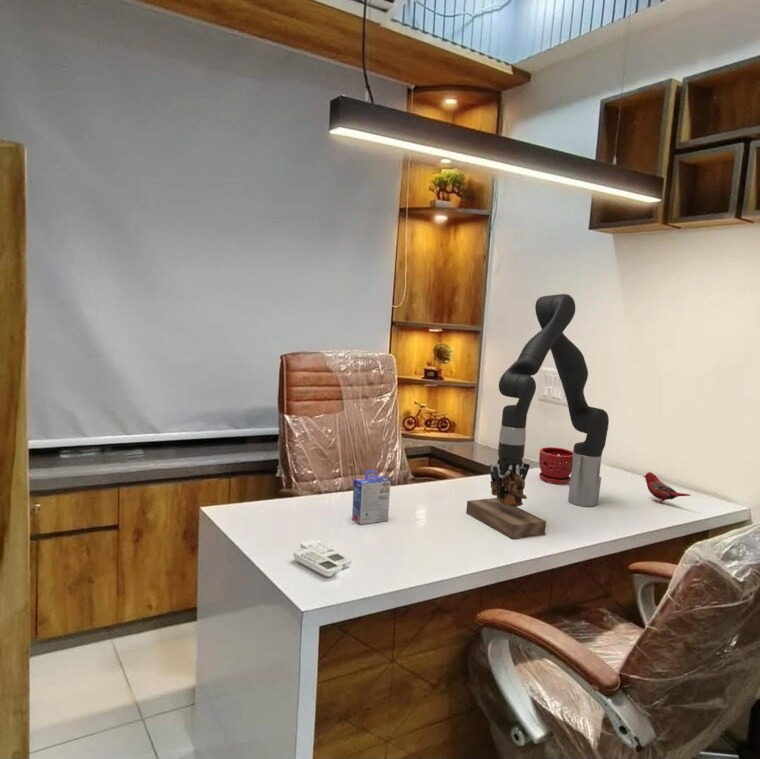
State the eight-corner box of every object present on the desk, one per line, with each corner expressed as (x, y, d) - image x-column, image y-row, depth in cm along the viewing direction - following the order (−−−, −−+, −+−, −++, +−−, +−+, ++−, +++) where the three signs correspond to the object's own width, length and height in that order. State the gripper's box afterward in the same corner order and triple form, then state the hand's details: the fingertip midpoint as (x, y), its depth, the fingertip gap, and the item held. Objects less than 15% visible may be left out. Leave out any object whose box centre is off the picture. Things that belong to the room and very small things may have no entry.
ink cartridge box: (379, 515, 179) (382, 467, 177) (389, 521, 174) (392, 472, 173) (350, 519, 174) (353, 470, 172) (359, 525, 169) (363, 475, 167)
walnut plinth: (497, 509, 192) (498, 497, 191) (544, 534, 172) (546, 521, 172) (466, 513, 186) (467, 500, 186) (511, 539, 167) (513, 525, 166)
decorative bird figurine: (643, 496, 218) (646, 470, 217) (690, 512, 204) (694, 483, 203) (638, 497, 217) (641, 470, 216) (686, 513, 202) (690, 484, 201)
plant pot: (530, 476, 236) (533, 446, 235) (560, 476, 239) (563, 447, 238) (547, 486, 224) (550, 454, 222) (578, 486, 227) (582, 455, 225)
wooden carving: (483, 496, 185) (487, 465, 184) (496, 495, 187) (499, 464, 186) (517, 514, 170) (521, 480, 169) (529, 513, 172) (533, 479, 171)
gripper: (522, 437, 183) (517, 491, 185) (484, 439, 176) (479, 495, 178) (539, 443, 176) (533, 499, 178) (500, 445, 170) (495, 503, 172)
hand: (506, 497), depth 178 cm, fingers closed on wooden carving, 4 cm apart
